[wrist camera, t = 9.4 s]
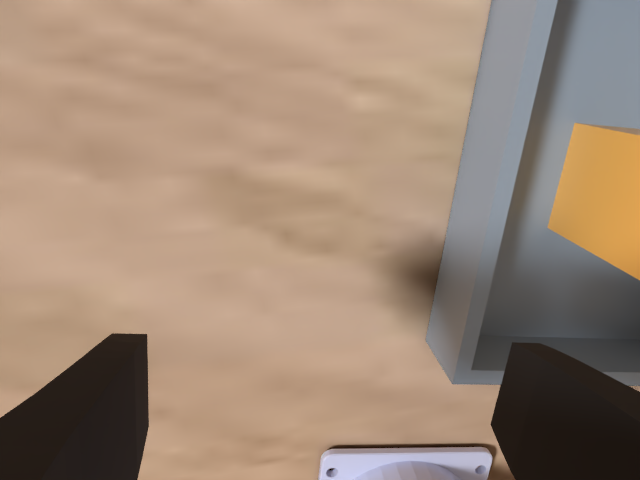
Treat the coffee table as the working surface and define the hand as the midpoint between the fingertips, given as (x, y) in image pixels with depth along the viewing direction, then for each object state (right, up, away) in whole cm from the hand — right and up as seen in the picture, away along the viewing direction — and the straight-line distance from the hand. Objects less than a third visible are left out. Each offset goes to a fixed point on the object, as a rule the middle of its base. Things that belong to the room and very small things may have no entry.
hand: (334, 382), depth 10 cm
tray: (+10, +5, +9) cm, 15 cm away
